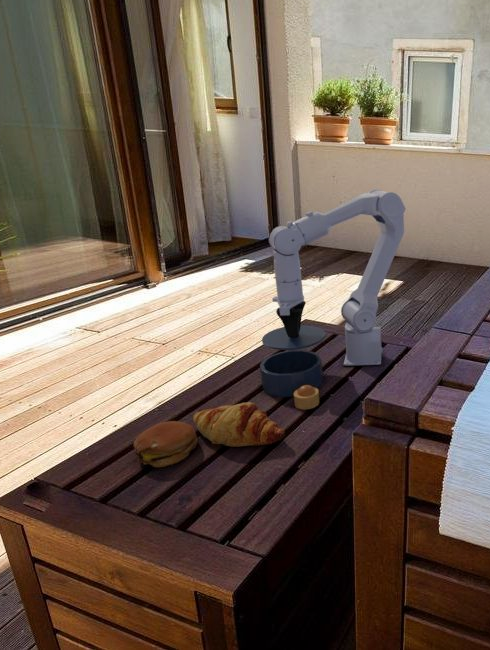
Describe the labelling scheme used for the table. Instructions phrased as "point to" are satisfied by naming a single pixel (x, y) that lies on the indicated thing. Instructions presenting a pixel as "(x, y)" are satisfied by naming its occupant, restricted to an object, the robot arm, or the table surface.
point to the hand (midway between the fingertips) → (294, 333)
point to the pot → (290, 372)
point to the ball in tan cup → (306, 397)
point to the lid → (293, 338)
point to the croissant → (237, 425)
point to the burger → (165, 443)
